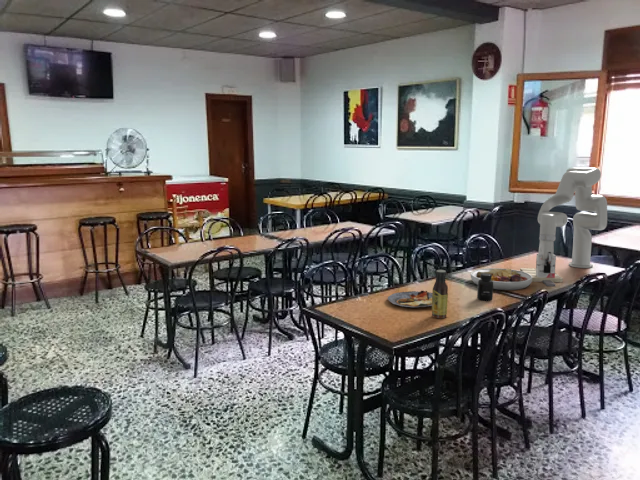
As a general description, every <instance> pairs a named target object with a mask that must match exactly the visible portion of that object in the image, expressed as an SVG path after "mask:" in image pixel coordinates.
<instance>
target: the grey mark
mask: <svg viewBox="0 0 640 480" xmlns="http://www.w3.org/2000/svg"><path fill="white" fill-rule="evenodd" d="M544 285H545V286H546V287H556V286H557V285H556V282H545V284H544Z"/></svg>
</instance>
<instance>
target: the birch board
mask: <svg viewBox="0 0 640 480" xmlns="http://www.w3.org/2000/svg"><path fill="white" fill-rule="evenodd" d="M519 271H522V272H525V273H528V274H530V275H531V276H532V282H531V283H534V282H535V283H536V282H538V283H539V282H541V283H543V282H542V280H551V281H552V282H554V283H563V282H564V278H563V277H562V276H560V275H559V274H558V273H556V272H555V278H538V277H537V276H536V267H535V268H534V267H533V268H528V267H527V268H525V267H520V269H519Z"/></svg>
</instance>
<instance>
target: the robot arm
mask: <svg viewBox="0 0 640 480" xmlns="http://www.w3.org/2000/svg"><path fill="white" fill-rule="evenodd" d="M601 177H602V173H601V170H600V168H598V167H580V166H578V167H577V166H576V167H575V166H574V167H569V168H568V169H567V170H566V172H564V173H563V174H562V177H561V179H560V182H559V184H558V187H557V189H556V191H555V193H554V194H553V195H551V197H549V198H547V200H545V201H544V202H543V204H542V205H541V207H540V209H539V211H538V214H537V222H538V224H539V226H540V227H539V238H538V239H539V243H538V244H539V245H538V246H539V247H538V253H537V254H541V255H542V260H545V265H544V273H550V271H551V262H552V259H553V254H554V246H555V244H554V242H555V241H556V232H557V228H562V227H564V226H565V225H567V223H568V216H567V214H566V213H564V212H558V211H550V210H553V208H555V207H558V206H561V205H564V204H567V203H569V202H571V201H572V199H573V197H574V199H575V201H574V202H575V208H576V210H578V211H579V212H576V213H575V214H574V215H573V216H572V217H573V218H572V224H573V225H572V226H573V237H572V238H573V242H572V255H571V261H570V262H569V263H568V266H569V267H573V268H579V269H590V268H593V267H594V266H593V263H591V254H592V244H593V243H592V241H593V236H592V233H591V232H590V230H593V231H603V230H605V229H606V228H607V227H608V201H607V198H606V197H605V196H604V195H602V194H593V189H592V187H593V186H594V185H596V184H597V183H598V182H599V181H600V179H601ZM580 211H581V212H580ZM546 258H548V260H546ZM546 261H547V263H546Z"/></svg>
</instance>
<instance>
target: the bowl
mask: <svg viewBox="0 0 640 480" xmlns="http://www.w3.org/2000/svg"><path fill="white" fill-rule="evenodd" d="M482 273H487V274H491V275H492V277H491V278H492V279H491V280H492V281H493V290H499V291H501V290H502V291H515V290H516V291H517V290H522V289H525V288H527V287H529V286H530V285H531V284H532V283H533V282H532V276H531V275H530V274H528V273H525V272H522V271H520V270H518V269H512V268H502V267H501V268H496V267H495V268H494V267H490V268H489V267H487V268H478V269H475V270H471V272H470V279H471V281H472V282H473V283H474V284H475V285H477V286H478V281H479V280H480V279H481V278H480V277H481V274H482Z"/></svg>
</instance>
